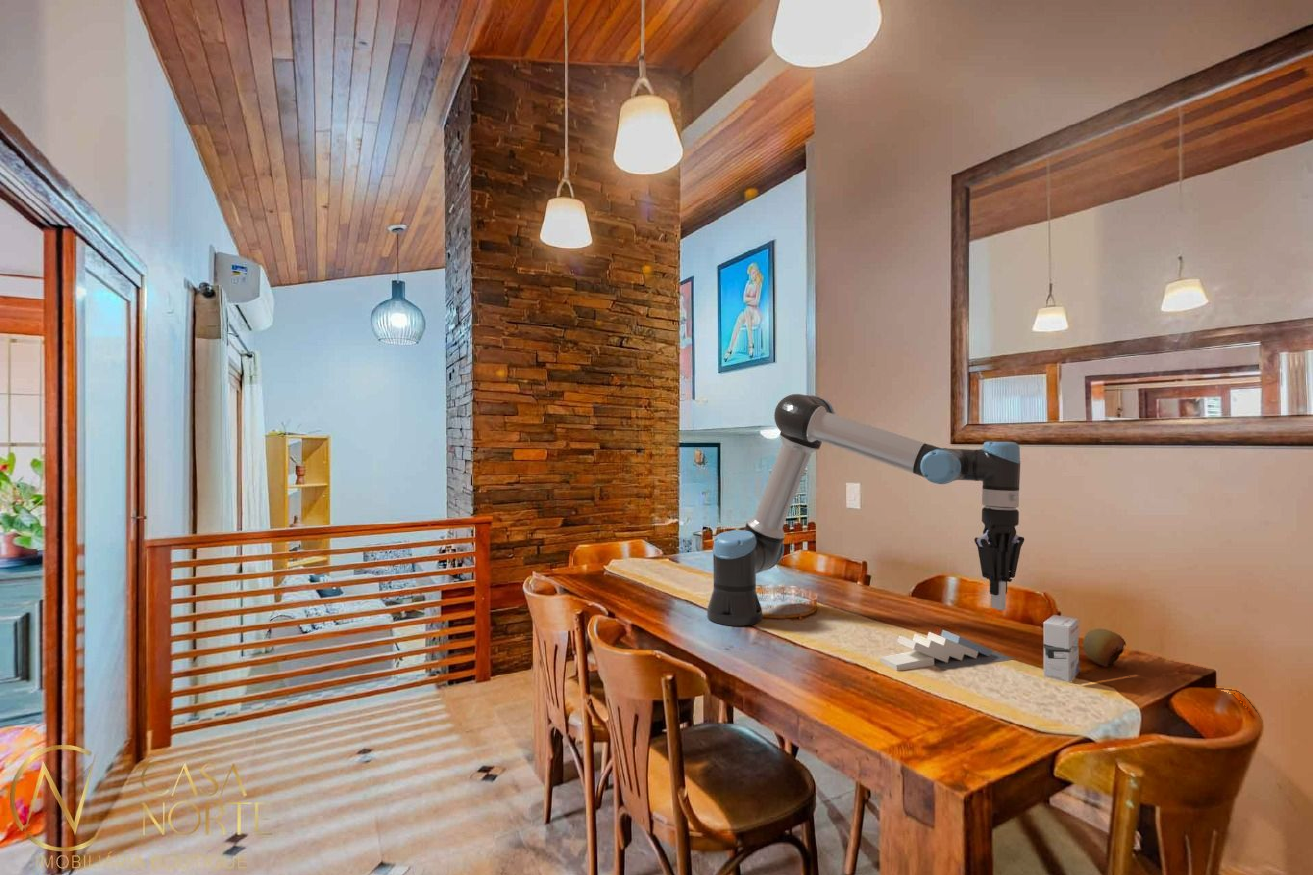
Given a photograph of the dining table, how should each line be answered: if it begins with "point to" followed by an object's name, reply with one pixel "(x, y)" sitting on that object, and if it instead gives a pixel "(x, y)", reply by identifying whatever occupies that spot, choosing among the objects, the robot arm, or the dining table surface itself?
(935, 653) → the domino
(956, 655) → the domino
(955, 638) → the domino
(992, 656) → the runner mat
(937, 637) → the domino
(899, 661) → the domino
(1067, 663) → the ink box
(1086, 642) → the fruit
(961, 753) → the dining table surface
